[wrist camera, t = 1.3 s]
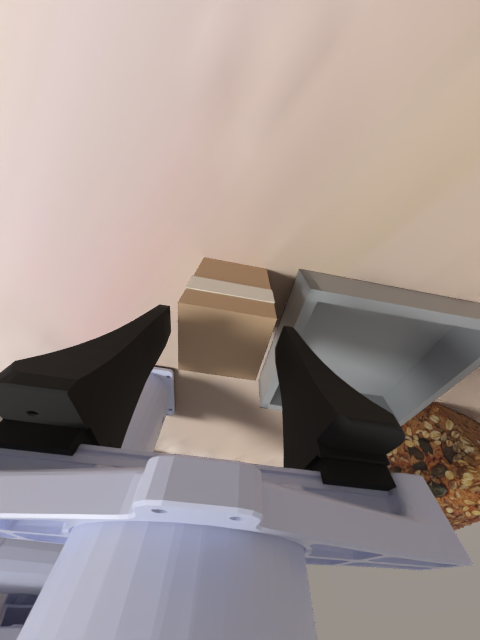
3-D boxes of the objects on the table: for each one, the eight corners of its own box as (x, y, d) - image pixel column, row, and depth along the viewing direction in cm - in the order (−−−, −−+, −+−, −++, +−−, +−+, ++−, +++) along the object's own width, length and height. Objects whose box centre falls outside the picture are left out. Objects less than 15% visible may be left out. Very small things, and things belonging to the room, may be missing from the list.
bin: (383, 398, 25) (400, 426, 22) (258, 380, 24) (259, 407, 21) (480, 303, 17) (528, 328, 14) (299, 268, 16) (310, 288, 13)
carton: (253, 319, 19) (256, 381, 13) (199, 310, 18) (177, 369, 13) (267, 268, 16) (278, 318, 10) (203, 256, 15) (177, 301, 10)
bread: (372, 464, 37) (407, 545, 29) (327, 450, 34) (352, 535, 26) (483, 419, 27) (585, 522, 19) (432, 395, 24) (525, 503, 16)
